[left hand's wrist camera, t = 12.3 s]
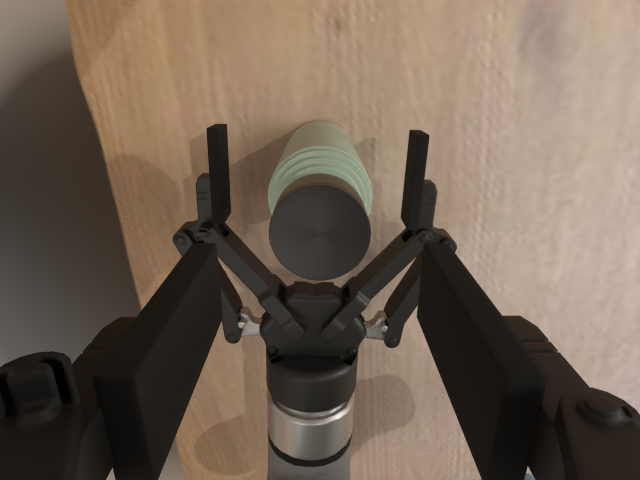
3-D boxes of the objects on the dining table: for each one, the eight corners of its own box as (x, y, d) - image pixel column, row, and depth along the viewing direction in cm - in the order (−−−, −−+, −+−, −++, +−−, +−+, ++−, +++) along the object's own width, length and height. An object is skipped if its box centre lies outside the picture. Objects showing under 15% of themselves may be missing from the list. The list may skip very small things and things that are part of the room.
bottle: (311, 105, 35) (302, 137, 17) (367, 146, 36) (413, 216, 18) (272, 163, 37) (228, 246, 19) (327, 200, 38) (334, 312, 20)
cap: (308, 154, 19) (306, 163, 17) (384, 207, 20) (391, 223, 18) (256, 228, 21) (249, 246, 18) (330, 275, 21) (331, 297, 19)
